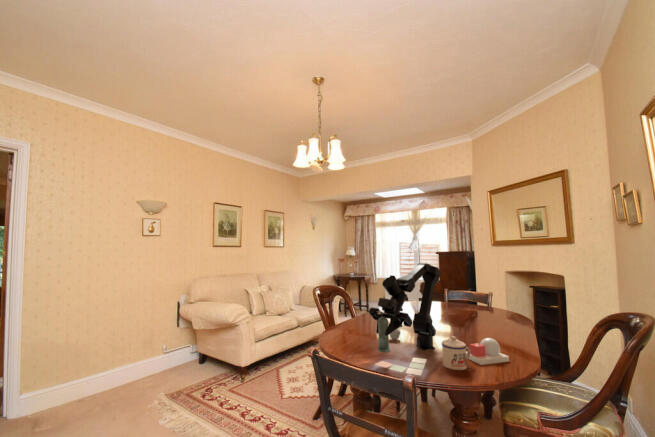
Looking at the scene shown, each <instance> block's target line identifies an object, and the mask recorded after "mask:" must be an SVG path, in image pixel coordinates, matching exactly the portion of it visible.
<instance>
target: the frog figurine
mask: <svg viewBox="0 0 655 437" xmlns="http://www.w3.org/2000/svg"><path fill="white" fill-rule="evenodd" d="M400 335H401V330H400V329H399V328H398V329H396V330H394V331H393V332H392V333H390V334H389V337H390V339H392V340H393V341H396V340H399V338H400Z"/></svg>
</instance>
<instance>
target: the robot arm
mask: <svg viewBox="0 0 655 437" xmlns="http://www.w3.org/2000/svg"><path fill="white" fill-rule="evenodd" d="M441 275H442V271H441V270H440V269H439V267H437V266H434V265H431V264H430V263H428V262H419V263H417V264H416V266H415V267H414V268H412V270H411V271H409V272H408V273H407V275H403V276H401V277H398V278H396V276H395V275H390V276H388V277H386V278H385V279H384V280H383V281H382V287H383V288H384V289H385V291H386V292H387V294H388V295H389V296H390V299H388V298H385V297H379V298H378V303H377V306H378V307H380V308H381V309H380V308H378V307H370V308H369V310H368V314H369V315H370V316H371V318H372V319H373V320H375V321H376V328H375V329H376V334H377V335H378V319H379V318H380V317H385V318H387V320H388V319H389V322H388V328H387V330H386V333H385V335H386V336H388V337H389V336H390V333H392V332H393V331H394V330H396V329H399V328H402V327H403V325H404V327H408V328H411V327H412V328H413V332H414V334H417V337H416V345H415V346H416V347H417V348H419V349H421V350H423V351H426V350H435V349H436V347H435V346H434V337H435V336H436V334H437V333H436V332H437V330H436V328H435V326H434V325H433V319H432V316H431V312H432V311H431V309H432V304H433V297H434V293H435V292H434V290H435V286H436V285H437V284H438V283H439V282H440V279H441ZM420 278H422V280H423V282H424V284H423V290H422V294H421V301H420V307H419V311H418V312H416V313H414V316H413V319H412V317H411V316H410V314H408V312H404V311H403V310H404V309H403V306H404V303H405V301H406V302H409V297H408V294H406V293H412V292H413V291H414V289H415V287H416V283H417V281H418V280H419V279H420Z"/></svg>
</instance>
